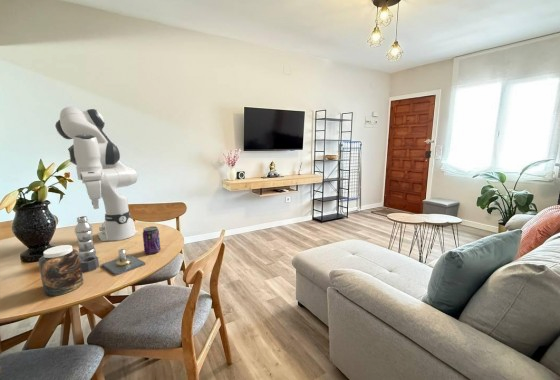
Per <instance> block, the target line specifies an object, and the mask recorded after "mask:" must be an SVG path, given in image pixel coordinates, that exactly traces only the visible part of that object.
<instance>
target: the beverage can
mask: <svg viewBox="0 0 560 380" xmlns="http://www.w3.org/2000/svg"><path fill="white" fill-rule="evenodd" d="M142 239H143V240H142V241H143V249H144V250H143V251H144V253H145V254H148V255H151V254H156V253H158V252H159V251H161V241H160V231H159V229H158V226H155V225H154V226H153V225H151V226H148V227H144V228H143V230H142Z"/></svg>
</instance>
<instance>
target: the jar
mask: <svg viewBox="0 0 560 380" xmlns="http://www.w3.org/2000/svg"><path fill="white" fill-rule="evenodd" d="M80 260H81V259H80V257H79V250H78V249H75V248H73V245H71V244H61V245H55V246H53V247H48V248H47V249H45V250H44V251H43V255H42V256H41V257H40V258H39V259H38V266H39V272H40V279H41V285H42V289H43V295H45V296H47V295H48V297H54V296H55V297H56V296H62V295H65V294H69V293H70V292H73V291H75V290H77V289H79V288H80V287H81V286H82V285H84V284H83V283H84V276H83V272H82V268H81V262H80Z"/></svg>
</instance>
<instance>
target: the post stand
mask: <svg viewBox="0 0 560 380" xmlns="http://www.w3.org/2000/svg"><path fill="white" fill-rule="evenodd" d="M145 265H146V262H145V261H143V260H141V259H140V258H138V257H136V256H134V255H133V254H128V255H127V252H126V249H125V248H123V249H121V248H120V249H119V250H118V258H116V259H113V260H110V261H107V262H103V263H101V267H102V268H104V269H106V270H107V271H108V272H109V273H111V274H113V275H114V276H119V275H122V274H124V273H127V272H129V271H132V270H134V269H137V268H140V267H143V266H145Z"/></svg>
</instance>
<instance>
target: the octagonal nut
mask: <svg viewBox="0 0 560 380" xmlns="http://www.w3.org/2000/svg"><path fill="white" fill-rule="evenodd" d="M80 262H81V268H82V273H88V272H92V271H95V270H97V269H98V268H99V267H100V264H99V257H98V256H97V255H96V256H91V257H86V258H83V259H80Z"/></svg>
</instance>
